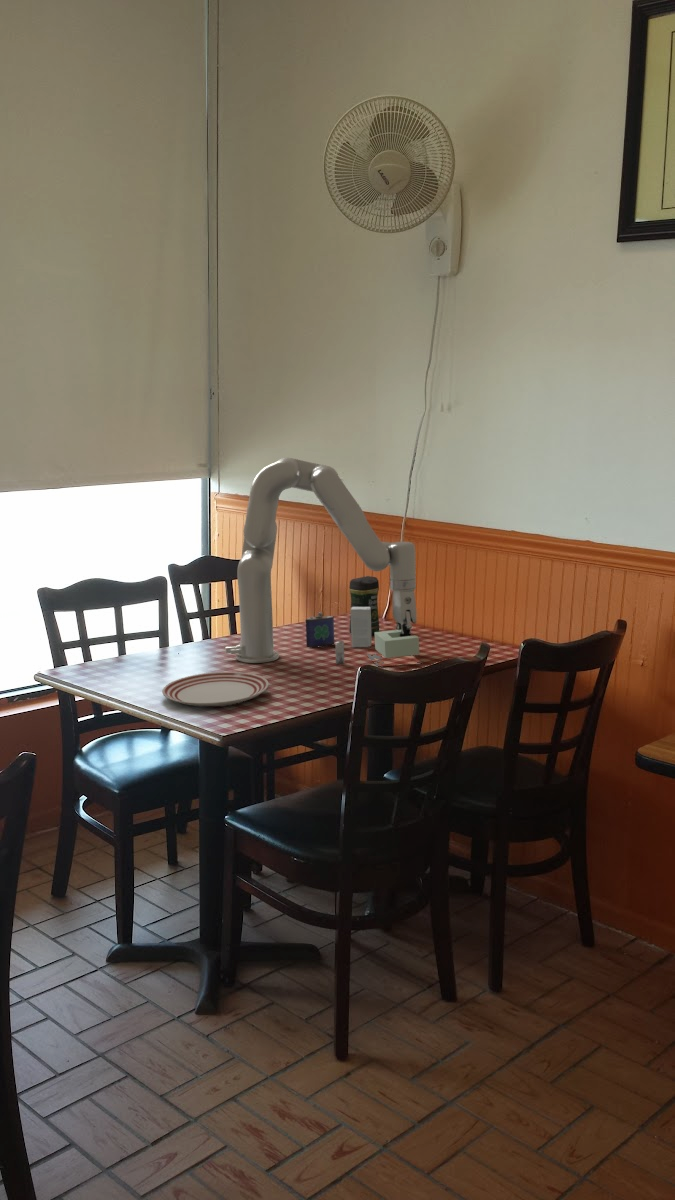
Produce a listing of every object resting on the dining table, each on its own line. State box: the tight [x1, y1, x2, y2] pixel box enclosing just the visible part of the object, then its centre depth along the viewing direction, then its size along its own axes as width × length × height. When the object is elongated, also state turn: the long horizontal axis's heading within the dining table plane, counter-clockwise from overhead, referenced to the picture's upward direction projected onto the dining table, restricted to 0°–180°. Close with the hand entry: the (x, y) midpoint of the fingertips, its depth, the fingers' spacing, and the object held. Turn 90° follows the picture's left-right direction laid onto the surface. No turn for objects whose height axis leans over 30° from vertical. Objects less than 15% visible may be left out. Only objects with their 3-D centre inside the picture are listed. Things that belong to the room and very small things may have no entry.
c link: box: [374, 629, 420, 658], centre depth 310 cm, size 10×12×5 cm
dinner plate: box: [161, 671, 270, 707], centre depth 277 cm, size 28×27×3 cm
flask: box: [305, 611, 336, 648], centre depth 329 cm, size 9×3×11 cm, turn 114°
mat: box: [366, 653, 423, 668], centre depth 311 cm, size 13×14×1 cm
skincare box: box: [350, 607, 373, 648], centre depth 328 cm, size 6×4×12 cm
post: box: [334, 640, 345, 665], centre depth 307 cm, size 2×2×6 cm
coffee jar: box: [348, 575, 380, 636], centre depth 343 cm, size 10×8×19 cm
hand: (403, 645), depth 316 cm, fingers closed on c link, 3 cm apart
